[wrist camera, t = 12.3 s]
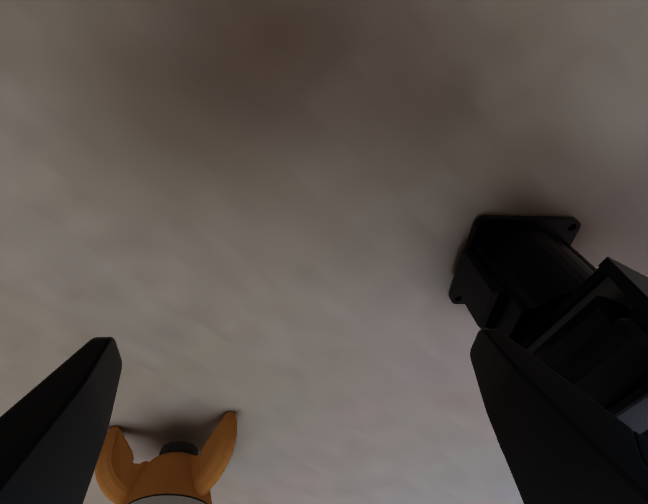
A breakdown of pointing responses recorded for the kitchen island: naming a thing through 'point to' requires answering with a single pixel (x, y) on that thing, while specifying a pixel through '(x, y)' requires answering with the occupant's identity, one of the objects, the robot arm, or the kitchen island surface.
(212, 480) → the toy rocket
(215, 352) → the kitchen island surface
